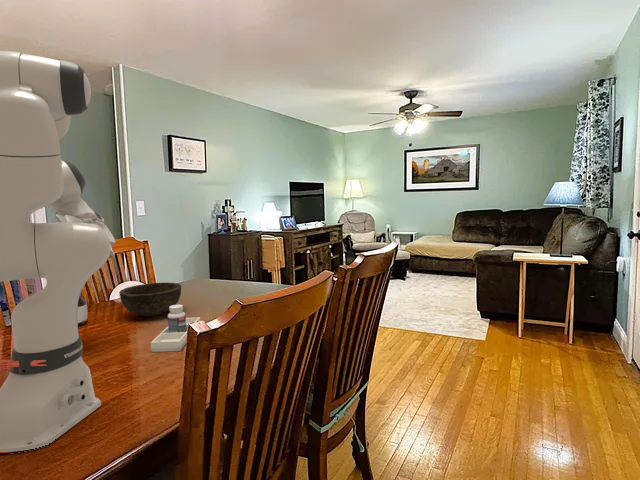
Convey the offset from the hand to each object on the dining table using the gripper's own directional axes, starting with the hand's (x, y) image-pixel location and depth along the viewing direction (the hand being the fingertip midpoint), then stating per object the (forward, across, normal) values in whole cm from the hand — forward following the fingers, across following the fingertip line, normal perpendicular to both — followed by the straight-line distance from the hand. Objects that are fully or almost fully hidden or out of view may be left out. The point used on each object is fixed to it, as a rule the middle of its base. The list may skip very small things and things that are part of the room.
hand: (102, 255), depth 117 cm
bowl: (+13, +40, +14) cm, 45 cm away
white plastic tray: (+30, +15, +1) cm, 34 cm away
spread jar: (+2, +27, +35) cm, 44 cm away
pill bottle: (+29, +14, +1) cm, 33 cm away
